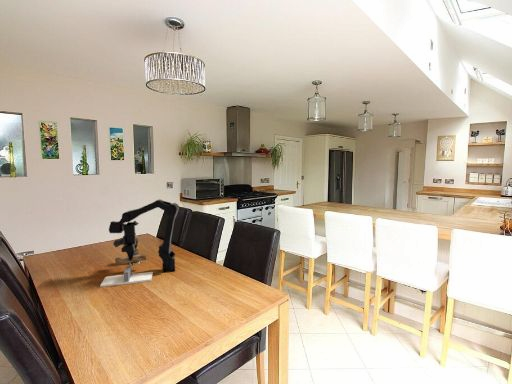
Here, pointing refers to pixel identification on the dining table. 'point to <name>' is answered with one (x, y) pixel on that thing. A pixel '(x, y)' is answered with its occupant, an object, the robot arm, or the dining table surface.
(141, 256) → the walnut bar
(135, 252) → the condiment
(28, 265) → the dining table surface
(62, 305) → the dining table surface
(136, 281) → the balance stand
